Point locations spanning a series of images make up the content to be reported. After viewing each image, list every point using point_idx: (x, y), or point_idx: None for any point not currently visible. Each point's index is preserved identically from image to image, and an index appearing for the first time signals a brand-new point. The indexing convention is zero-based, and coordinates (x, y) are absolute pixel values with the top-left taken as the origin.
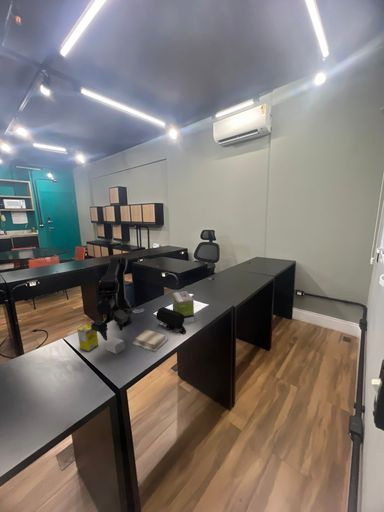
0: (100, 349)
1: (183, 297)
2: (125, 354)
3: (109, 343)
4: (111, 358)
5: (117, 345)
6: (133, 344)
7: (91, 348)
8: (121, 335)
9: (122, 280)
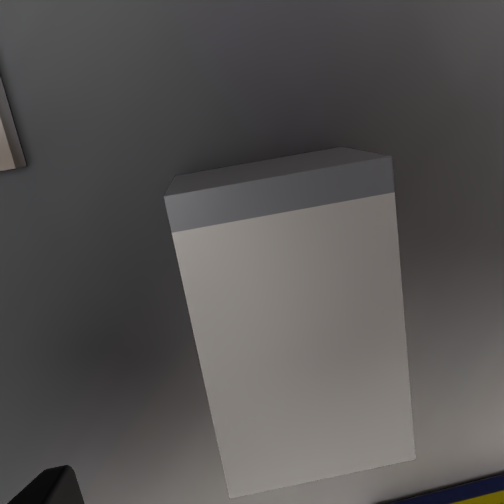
0: None
1: None
2: (267, 23)
3: (395, 354)
4: (446, 127)
5: (352, 172)
6: (17, 141)
7: (488, 500)
8: None
9: None
